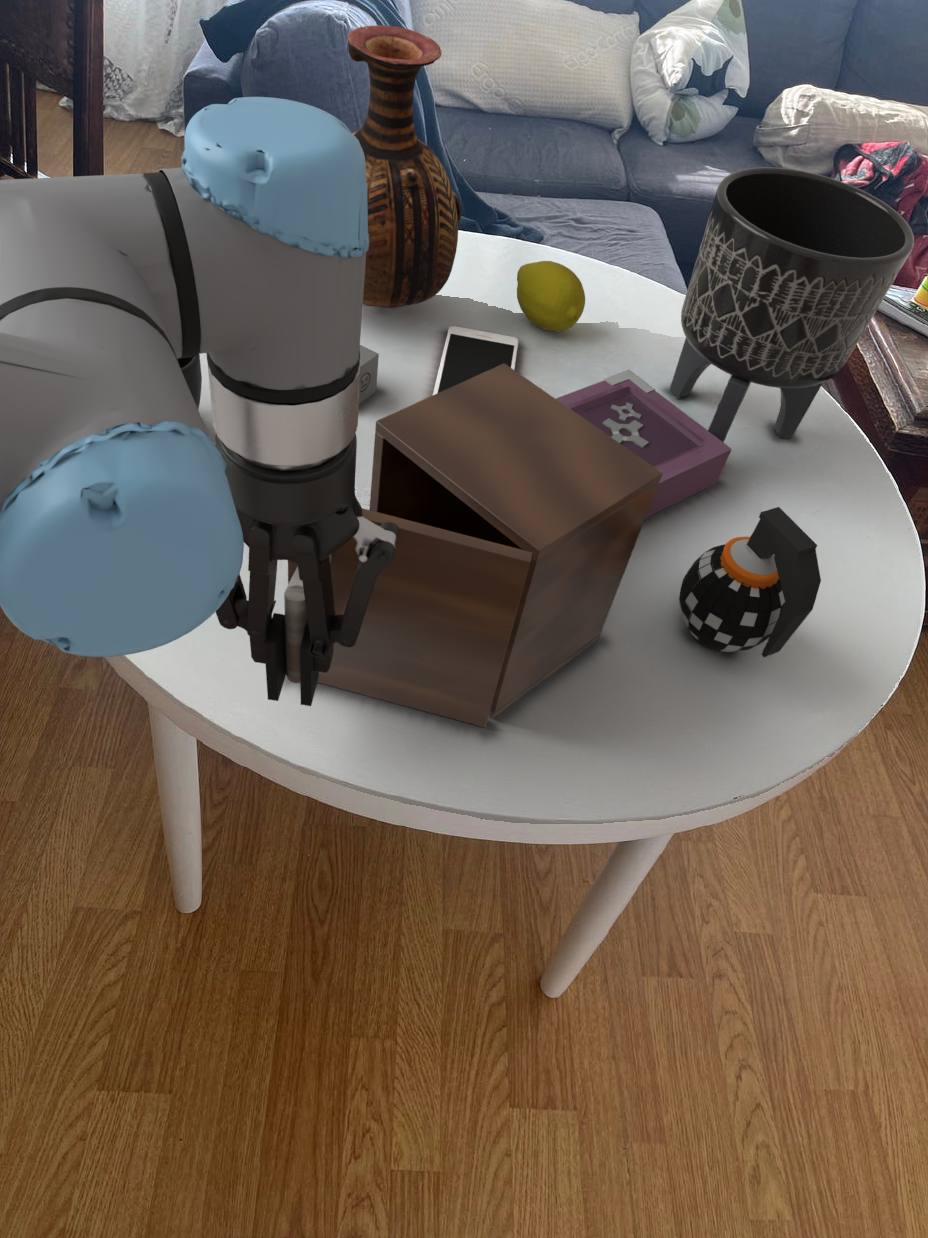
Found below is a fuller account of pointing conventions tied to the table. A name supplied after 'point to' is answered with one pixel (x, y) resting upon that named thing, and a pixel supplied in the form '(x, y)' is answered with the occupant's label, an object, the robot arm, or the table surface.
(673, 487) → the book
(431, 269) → the vase
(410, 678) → the cupboard door
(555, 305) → the lemon
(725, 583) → the grenade
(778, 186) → the planter
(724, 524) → the table surface
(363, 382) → the dice cube
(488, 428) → the cupboard
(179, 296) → the robot arm
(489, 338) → the cell phone
